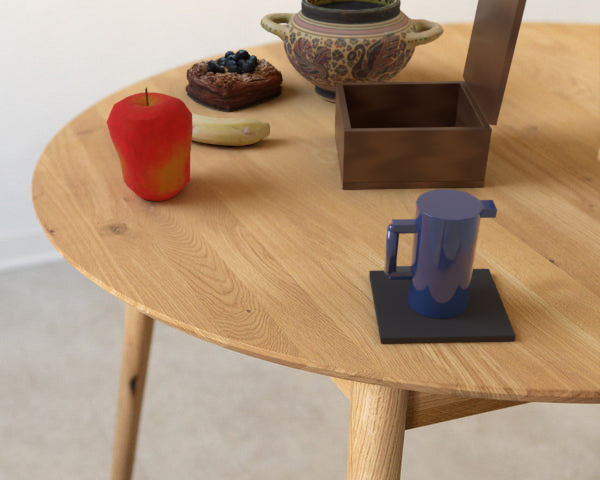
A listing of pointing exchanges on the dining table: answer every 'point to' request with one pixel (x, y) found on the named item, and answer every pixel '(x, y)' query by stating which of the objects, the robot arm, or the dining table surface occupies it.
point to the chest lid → (492, 52)
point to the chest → (410, 135)
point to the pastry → (233, 82)
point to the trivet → (420, 329)
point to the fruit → (228, 130)
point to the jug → (439, 251)
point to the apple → (152, 143)
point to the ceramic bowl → (349, 40)
